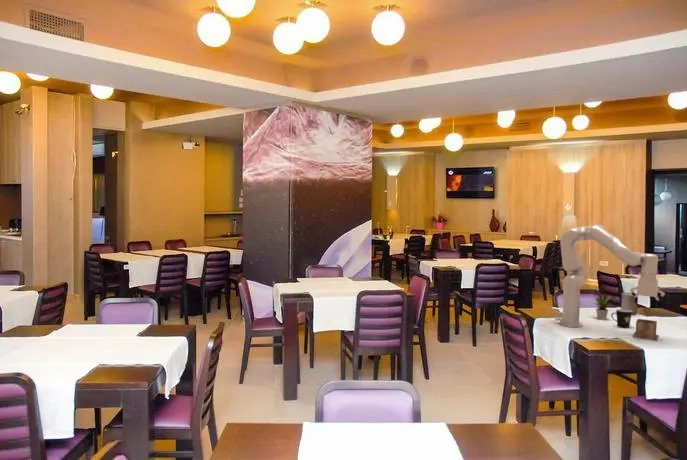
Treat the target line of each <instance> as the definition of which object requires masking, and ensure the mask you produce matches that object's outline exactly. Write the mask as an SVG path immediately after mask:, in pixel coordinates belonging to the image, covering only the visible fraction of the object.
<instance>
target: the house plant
mask: <svg viewBox="0 0 687 460" xmlns="http://www.w3.org/2000/svg"><path fill="white" fill-rule="evenodd" d="M604 295H605V293H604V294H602V298H601V299H600V296H599V295H598V294H596V296H594V295H592V296H593V297H594V298H595V300H596V302H597V303H596V302H593V303H591V304H593V305H595V306H598V307H597V308H595V309H596V318H597V319H598V320H602V319H605V320H607V317H608V311H609V309H608V308H609V307H612V305H611V304H612V302H608V301H610V300H611V296H608V295H607V296H608V297H607V296H605V298H604ZM607 307H608V308H607Z"/></svg>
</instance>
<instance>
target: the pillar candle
mask: <svg viewBox="0 0 687 460" xmlns="http://www.w3.org/2000/svg"><path fill="white" fill-rule="evenodd" d="M634 302H635V297H634V296H633V295H632V293H631V292H622V293H621V305H620V306H621V307H620V309H626V310H631V311H632V315H631V316H637V315H638V304H637V305H636V303H634Z"/></svg>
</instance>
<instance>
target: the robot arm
mask: <svg viewBox="0 0 687 460" xmlns="http://www.w3.org/2000/svg"><path fill="white" fill-rule="evenodd" d="M589 240H590V241H591V240H594V241H595V242H596V243H598V244H599V245H601V246H602V247H603V248H605V249H607V251H609V252H610V253H611V254H613V256H614V257H616V258H618V259H619V260H620V261H622V262H623V263H625V264H626V265H628V266H631V267H636V266H641V272H638V276H639V278H638V281H637V285H636V286H635V287H632V288H630V290H629V292H630V293H632V295H633V296H634V297H635V302H634V303H636V305H637V306H638V302H639V301H638V300H639V298H638V297H639V296H642V297H643V296H644V297H649V298H651V297H654V299H655V303H654V308H657V307H659V301H660V300H662V299H663V297H665V295H666V293H665V292H664V291H662V290H661V289H659V282H658V278H657V272H658V262H659V257H658V255H657V254H654V253H645V252H644V253H643V252H638V251H632V250H630V249H629V248H628V247H626V246H625V245H624V244H623V243H622V242H621V240H620V238H618V237H617V236H615V235H614V234H613V233H610V232H609V231H608V230H607V228H606V227H605V226H604V225H602V224H594V225H588V226H587V225H586V226H578V227H576V226H575V227H571V228H568V229H567V230H566V231H564V232H563V234H562V235H561V237H560V242H559V245H560V251H561V261H562V263H561V264H562V267H563V270H564V271H566V272H567V273H568V274H567V275H565V277H564V278H563V280H562V289H563V293H562V295H563V296H562V298H563V299H562V300H563V301H562V316H556V315H555V317H554V320H555V321H559V325H560V326H563V327H568V328H569V327H570V328H581V327H582V322H580V307H581V290H580V289H581V287H583V286H584V284H585V282H586V279H585V278H586V277H585V269H584V262H583V260H582V258H581V257H580V256H579V255H577V247H576V243H577V242H580V241H589ZM635 291H636V293H635ZM658 293H659V294H660V295H659V296H658Z"/></svg>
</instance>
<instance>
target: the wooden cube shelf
mask: <svg viewBox="0 0 687 460" xmlns="http://www.w3.org/2000/svg"><path fill="white" fill-rule="evenodd" d="M657 324H658V323H657V320H650V319H642V318H637V320H636V322H635V331H634V333H633V335H632V338H635V339H643V340H648V341H649V340H650V341H658V340H659V337H660V336H659V334H657V326H658V325H657Z"/></svg>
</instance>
